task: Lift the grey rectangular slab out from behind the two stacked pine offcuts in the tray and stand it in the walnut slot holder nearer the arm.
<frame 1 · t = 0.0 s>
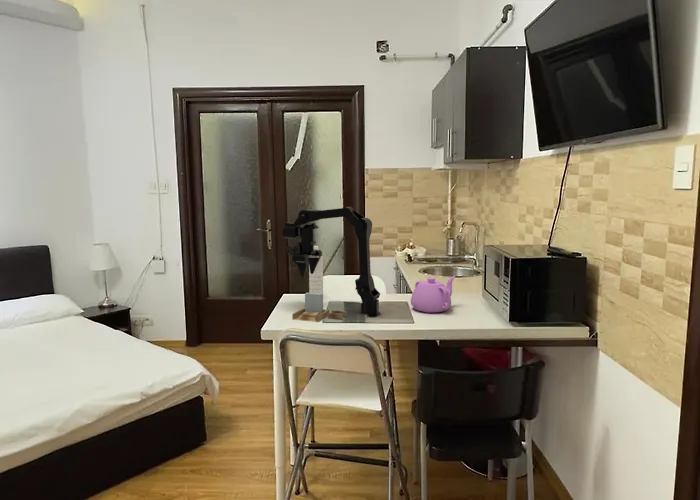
hand: (307, 275, 223), 15 cm above the table, tool pointing down, fingers open, 9 cm apart
holder: (337, 319, 207), on the table
offcut top: (310, 315, 206), point 2 cm above the table, touching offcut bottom
water bottle: (314, 298, 245), on the table
tray: (311, 319, 208), on the table
grey rectangular slab: (314, 315, 211), point 1 cm above the table, touching tray
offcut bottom: (309, 318, 206), point 1 cm above the table, touching offcut top, tray
teapot: (434, 309, 225), on the table
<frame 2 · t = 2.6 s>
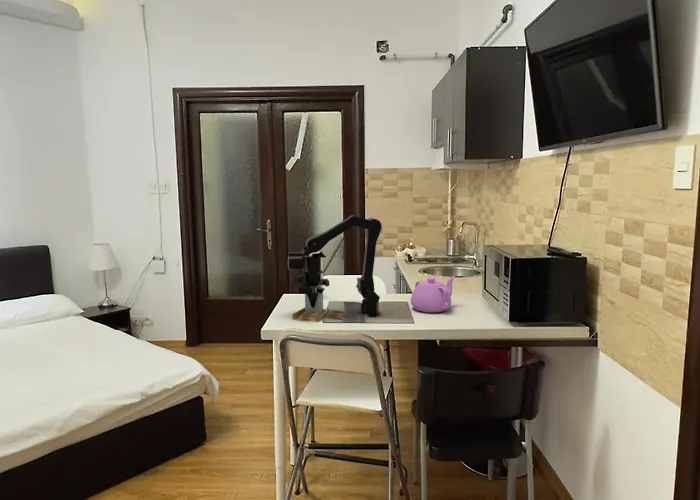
hand: (314, 306, 210), 4 cm above the table, tool pointing down, fingers closed on grey rectangular slab, 2 cm apart
grey rectangular slab: (314, 315, 211), point 1 cm above the table, touching gripper, tray
everything else where it was.
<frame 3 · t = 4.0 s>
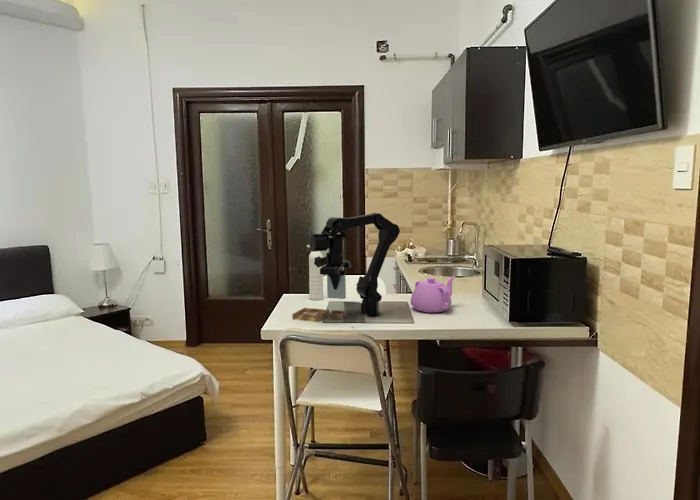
hand: (336, 288, 206), 12 cm above the table, tool pointing down, fingers closed on grey rectangular slab
grey rectangular slab: (336, 297, 206), point 9 cm above the table, touching gripper
everything else where it was.
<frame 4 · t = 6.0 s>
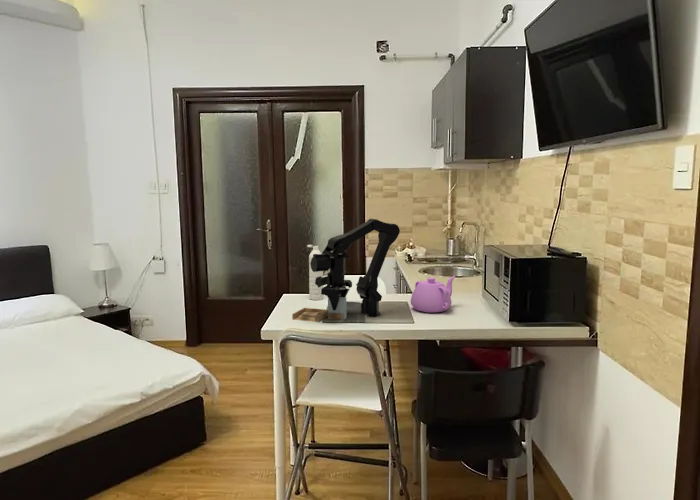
hand: (337, 308, 207), 4 cm above the table, tool pointing down, fingers open, 6 cm apart
grey rectangular slab: (337, 319, 207), resting in holder
everything else where it was.
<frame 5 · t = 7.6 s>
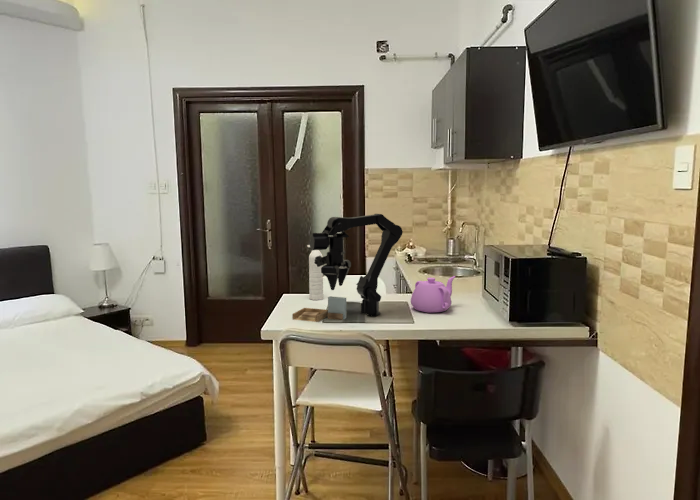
hand: (336, 287, 208), 12 cm above the table, tool pointing down, fingers open, 9 cm apart
nothing on the table moved.
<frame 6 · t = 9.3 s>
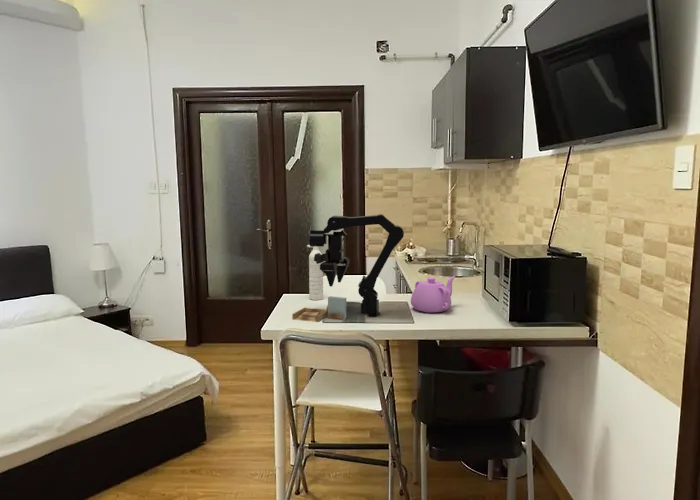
hand: (335, 284, 214), 12 cm above the table, tool pointing down, fingers open, 9 cm apart
nothing on the table moved.
at the end: grey rectangular slab 0.1 cm off-centre on the holder, point 0.0 cm above the holder's base; grey rectangular slab tilted 0°; the gripper is holding nothing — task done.
